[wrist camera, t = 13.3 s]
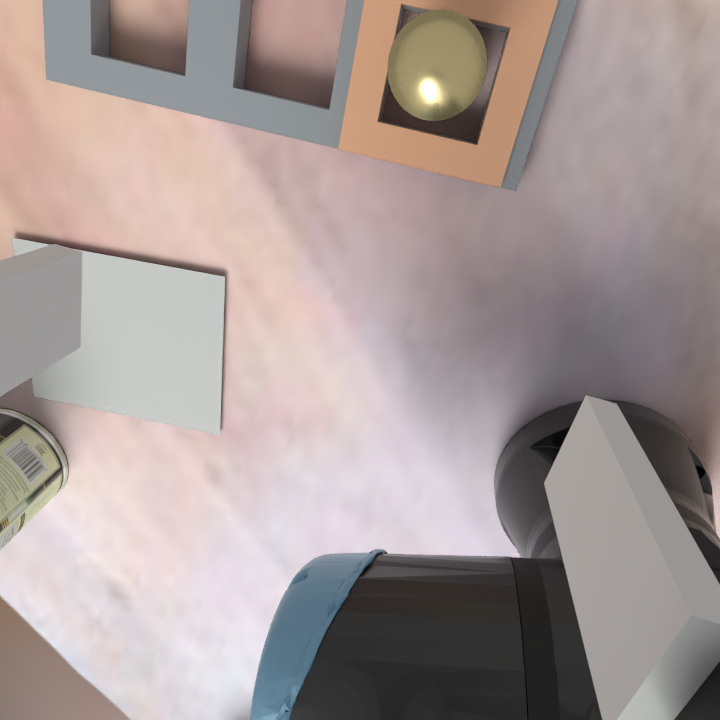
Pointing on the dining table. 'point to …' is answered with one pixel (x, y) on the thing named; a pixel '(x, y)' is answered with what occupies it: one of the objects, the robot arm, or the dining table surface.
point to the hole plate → (351, 83)
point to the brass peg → (437, 65)
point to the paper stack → (143, 343)
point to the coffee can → (26, 471)
